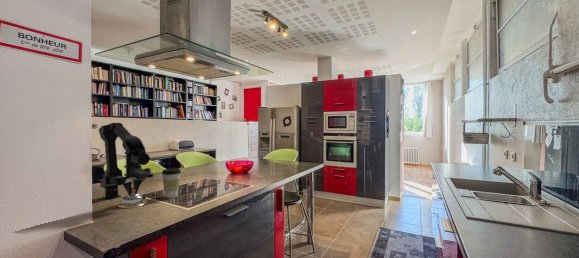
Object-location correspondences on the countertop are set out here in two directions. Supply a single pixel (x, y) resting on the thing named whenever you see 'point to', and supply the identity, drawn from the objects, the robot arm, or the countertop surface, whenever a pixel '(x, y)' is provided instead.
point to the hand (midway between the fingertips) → (132, 194)
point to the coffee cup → (171, 182)
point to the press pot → (133, 201)
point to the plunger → (133, 193)
